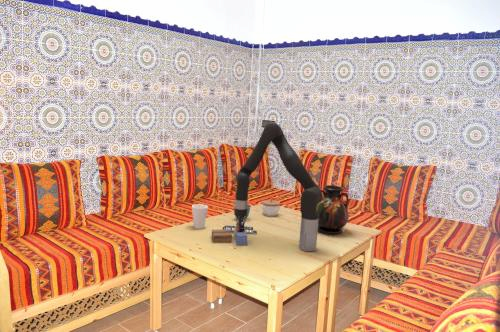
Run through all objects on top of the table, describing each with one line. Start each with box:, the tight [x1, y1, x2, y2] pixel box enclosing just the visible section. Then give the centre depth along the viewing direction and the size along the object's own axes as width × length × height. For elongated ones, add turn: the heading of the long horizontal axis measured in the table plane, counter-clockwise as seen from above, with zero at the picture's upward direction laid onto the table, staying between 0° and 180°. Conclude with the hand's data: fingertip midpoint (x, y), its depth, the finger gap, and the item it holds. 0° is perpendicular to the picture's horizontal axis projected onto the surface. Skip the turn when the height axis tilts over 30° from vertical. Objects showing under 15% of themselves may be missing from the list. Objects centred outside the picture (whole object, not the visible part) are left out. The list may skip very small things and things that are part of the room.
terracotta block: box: [233, 225, 246, 238], centre depth 225 cm, size 6×6×6 cm
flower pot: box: [235, 204, 251, 221], centre depth 259 cm, size 9×9×9 cm
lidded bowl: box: [261, 199, 281, 217], centre depth 273 cm, size 13×13×11 cm
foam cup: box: [191, 203, 209, 230], centre depth 238 cm, size 10×9×13 cm
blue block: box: [234, 231, 248, 246], centre depth 214 cm, size 6×6×6 cm
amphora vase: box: [316, 184, 350, 236], centre depth 242 cm, size 22×22×28 cm
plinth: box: [211, 229, 233, 244], centre depth 219 cm, size 10×10×4 cm
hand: (239, 235), depth 225 cm, fingers closed on terracotta block, 5 cm apart
